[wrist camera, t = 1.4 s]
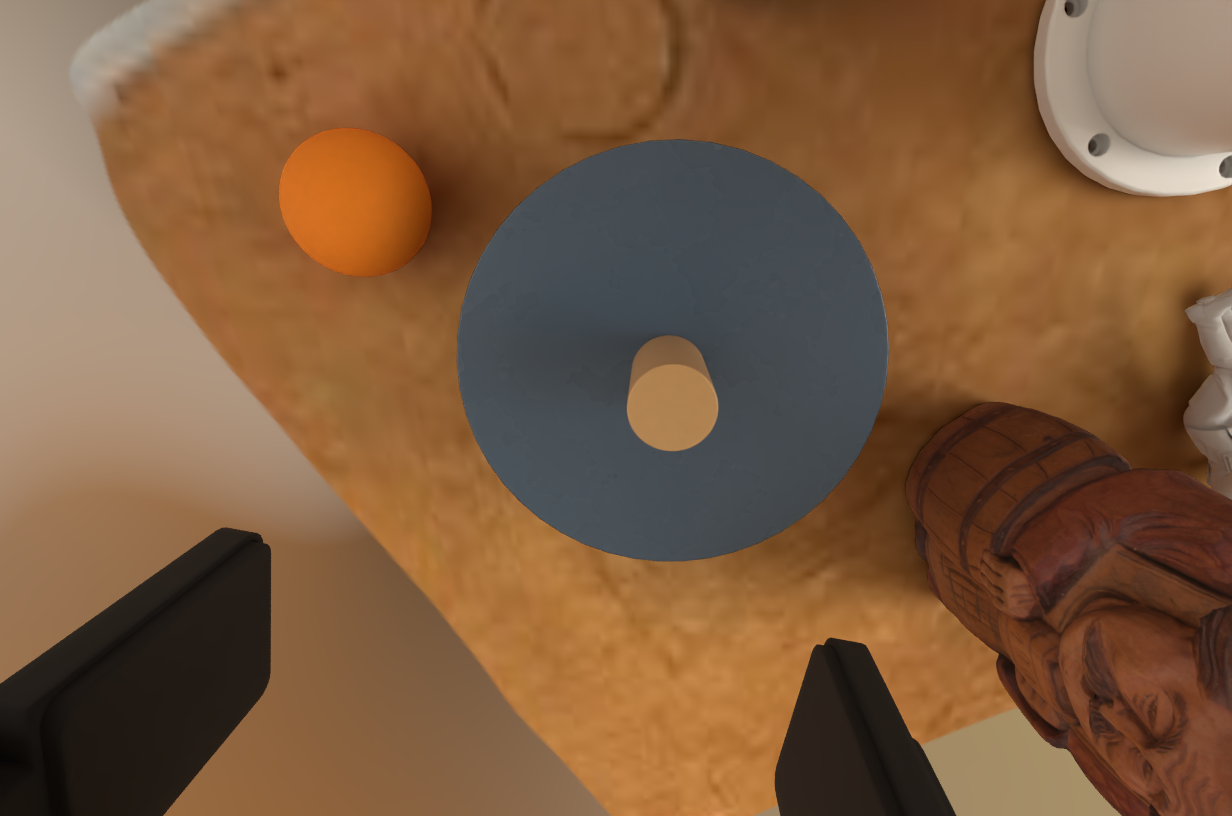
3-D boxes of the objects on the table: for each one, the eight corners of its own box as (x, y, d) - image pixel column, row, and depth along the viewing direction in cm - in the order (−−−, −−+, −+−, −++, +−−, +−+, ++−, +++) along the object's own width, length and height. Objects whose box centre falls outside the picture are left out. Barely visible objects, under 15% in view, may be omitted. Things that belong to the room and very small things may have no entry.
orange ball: (455, 149, 29) (405, 131, 23) (445, 280, 30) (396, 294, 25) (326, 127, 29) (244, 104, 23) (323, 260, 30) (247, 269, 25)
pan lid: (934, 183, 22) (1033, 169, 17) (819, 577, 27) (864, 674, 21) (485, 108, 23) (426, 69, 17) (448, 514, 27) (393, 594, 22)
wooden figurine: (889, 415, 31) (1186, 656, 14) (1024, 384, 30) (1517, 599, 13) (921, 615, 34) (1196, 1017, 17) (1044, 592, 33) (1464, 989, 16)
